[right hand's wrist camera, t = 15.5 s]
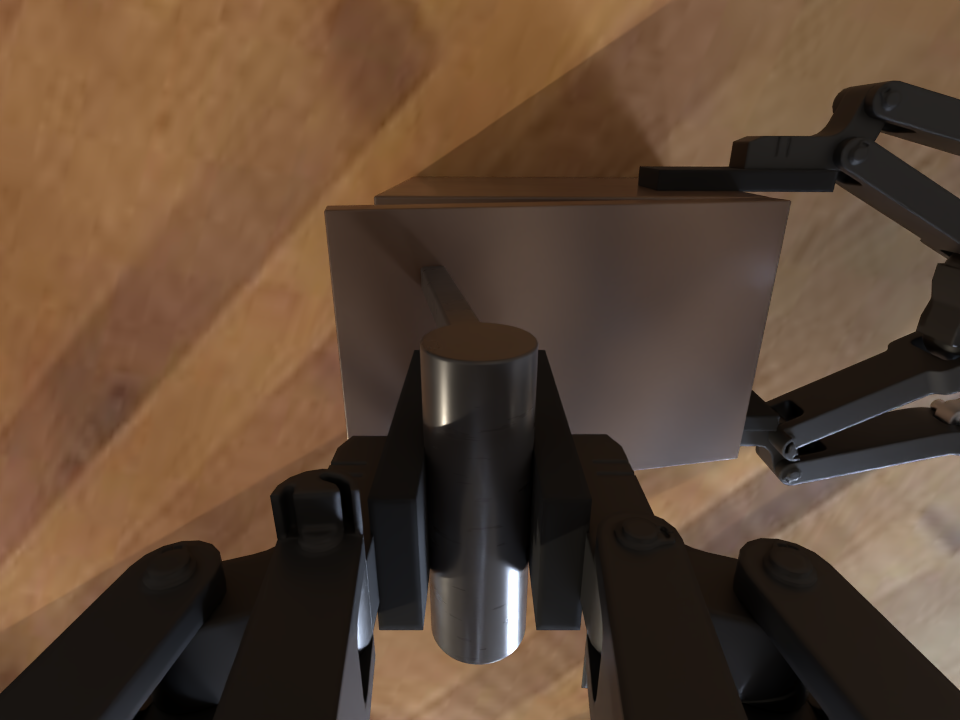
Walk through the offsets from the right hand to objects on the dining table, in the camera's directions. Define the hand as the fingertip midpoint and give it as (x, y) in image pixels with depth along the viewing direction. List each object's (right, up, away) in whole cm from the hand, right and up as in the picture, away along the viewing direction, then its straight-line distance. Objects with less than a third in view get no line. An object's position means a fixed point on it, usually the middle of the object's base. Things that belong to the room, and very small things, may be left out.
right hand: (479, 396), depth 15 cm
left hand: (+7, +3, +8) cm, 11 cm away
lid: (+3, +2, +3) cm, 5 cm away
